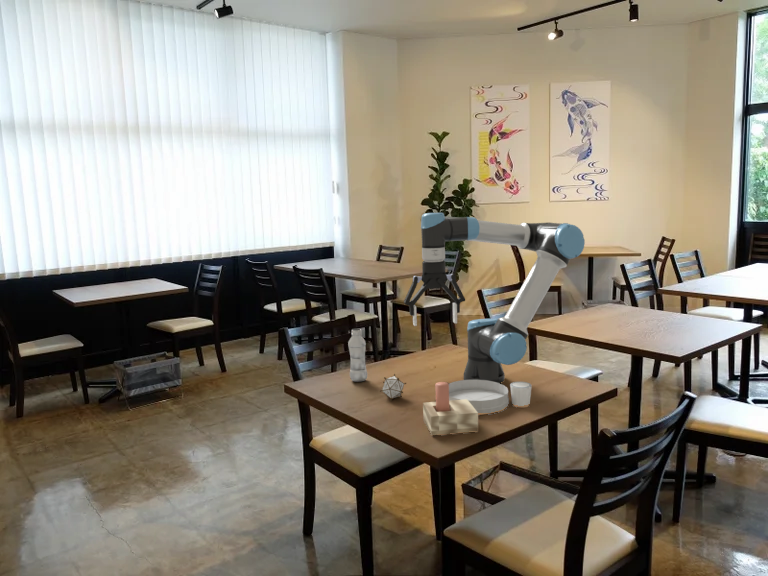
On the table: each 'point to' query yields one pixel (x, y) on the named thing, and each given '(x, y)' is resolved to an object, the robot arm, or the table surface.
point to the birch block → (450, 417)
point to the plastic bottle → (357, 356)
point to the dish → (480, 394)
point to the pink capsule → (442, 396)
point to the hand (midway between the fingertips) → (435, 323)
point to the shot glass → (520, 393)
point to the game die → (392, 387)
